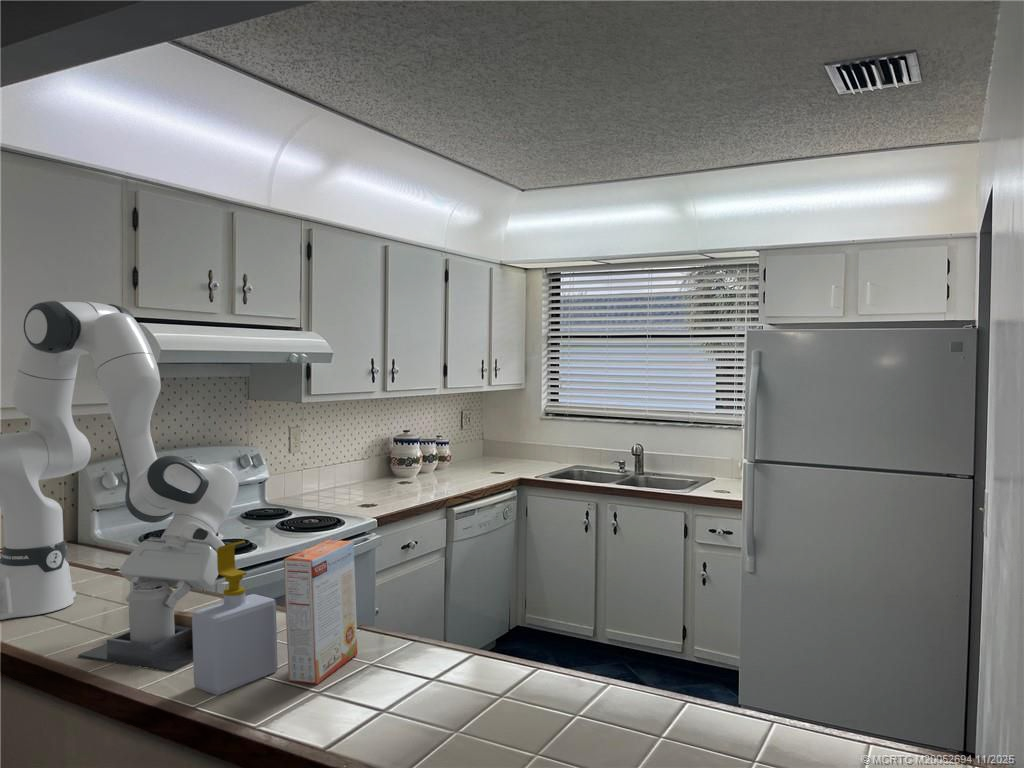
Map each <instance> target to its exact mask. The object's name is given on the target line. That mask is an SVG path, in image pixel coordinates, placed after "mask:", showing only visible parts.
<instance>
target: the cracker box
mask: <svg viewBox="0 0 1024 768" xmlns="http://www.w3.org/2000/svg"><path fill="white" fill-rule="evenodd" d="M354 544H355V542H354V541H352V540H337V539H328V540H325V541H322V542H320V543H317V544H315V545H313V546H310V547H309V548H308V547H307V548H306V549H304V550H301V551H300V552H297V553H295V554H293V555H289V556H288V557H285V558H284V559H283V573H284V574H283V575H284V596H285V597H284V598H285V601H284V602H285V619H286V620H285V621H286V623H285V625H286V643H287V644H286V646H287V648H286V649H287V665H288V666H287V669H288V670H287V671H288V672H287V673H288V674H287V675H288V682H292V683H293V682H295V683H303V684H313V685H318V684H320V683H321V682H322V681H324V680H325V679H326V678H327V677H329V676H330V675H332V674H333V673H334V672H335V671H337V670H338V669H340V668H341V667H342V666H344V665H345V664H347V662H348V661H350V660H351V659H352V658H354V657H355V656H356V655H358V627H357V624H358V623H357V604H356V602H357V601H356V600H357V599H356V576H355V575H356V572H355V546H354Z"/></svg>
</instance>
